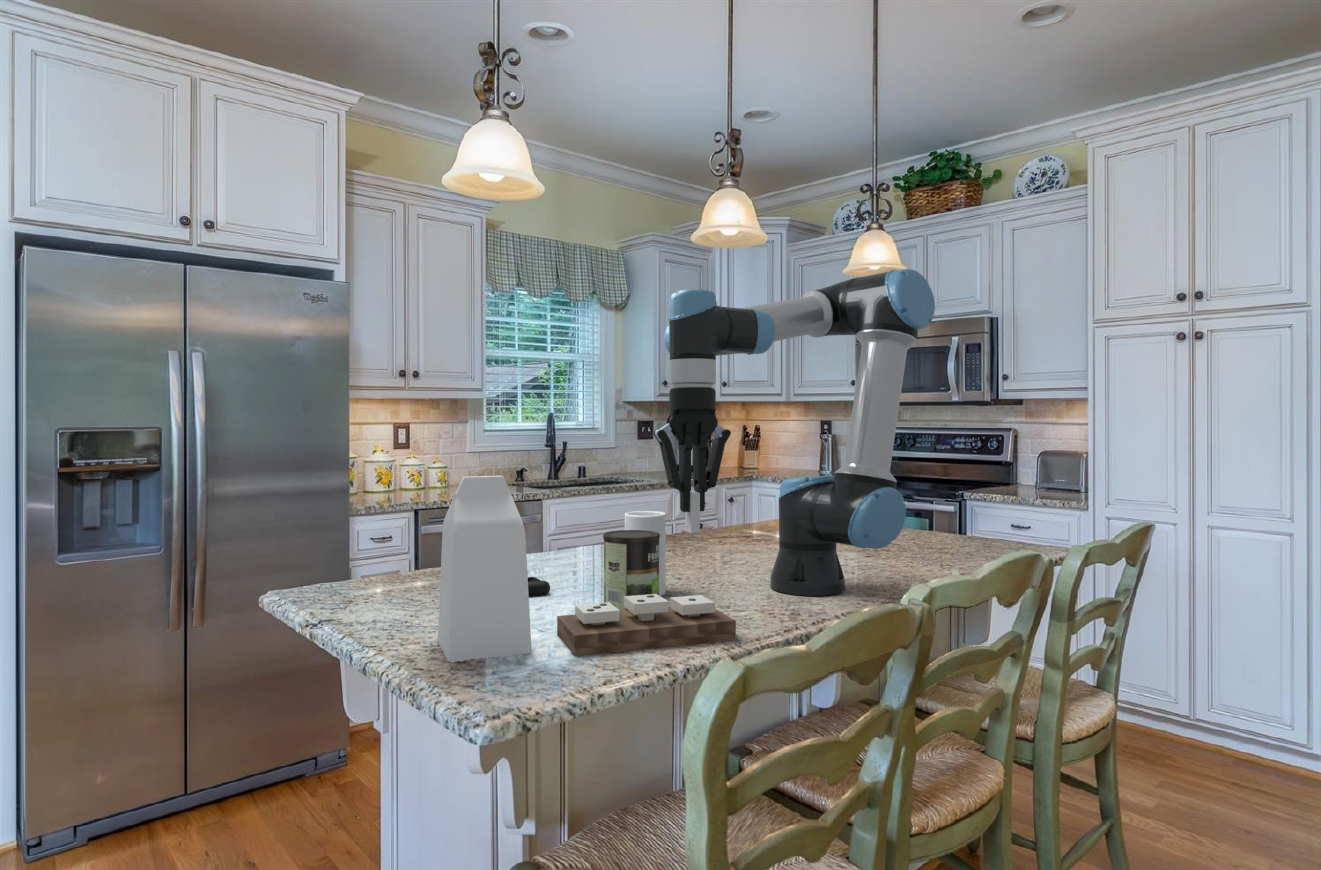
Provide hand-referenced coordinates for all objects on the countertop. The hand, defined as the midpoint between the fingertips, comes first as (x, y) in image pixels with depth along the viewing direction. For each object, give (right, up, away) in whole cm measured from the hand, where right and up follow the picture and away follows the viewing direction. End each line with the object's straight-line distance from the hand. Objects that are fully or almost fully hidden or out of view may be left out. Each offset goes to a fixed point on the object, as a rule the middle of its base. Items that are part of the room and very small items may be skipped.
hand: (692, 531), depth 126 cm
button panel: (-8, -16, -3) cm, 18 cm away
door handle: (-39, -17, +29) cm, 51 cm away
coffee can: (-11, -16, +14) cm, 24 cm away
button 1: (0, -15, 0) cm, 15 cm away
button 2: (-8, -14, -3) cm, 16 cm away
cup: (-8, -16, +29) cm, 34 cm away
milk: (-32, -17, -8) cm, 37 cm away
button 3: (-15, -15, -5) cm, 22 cm away
